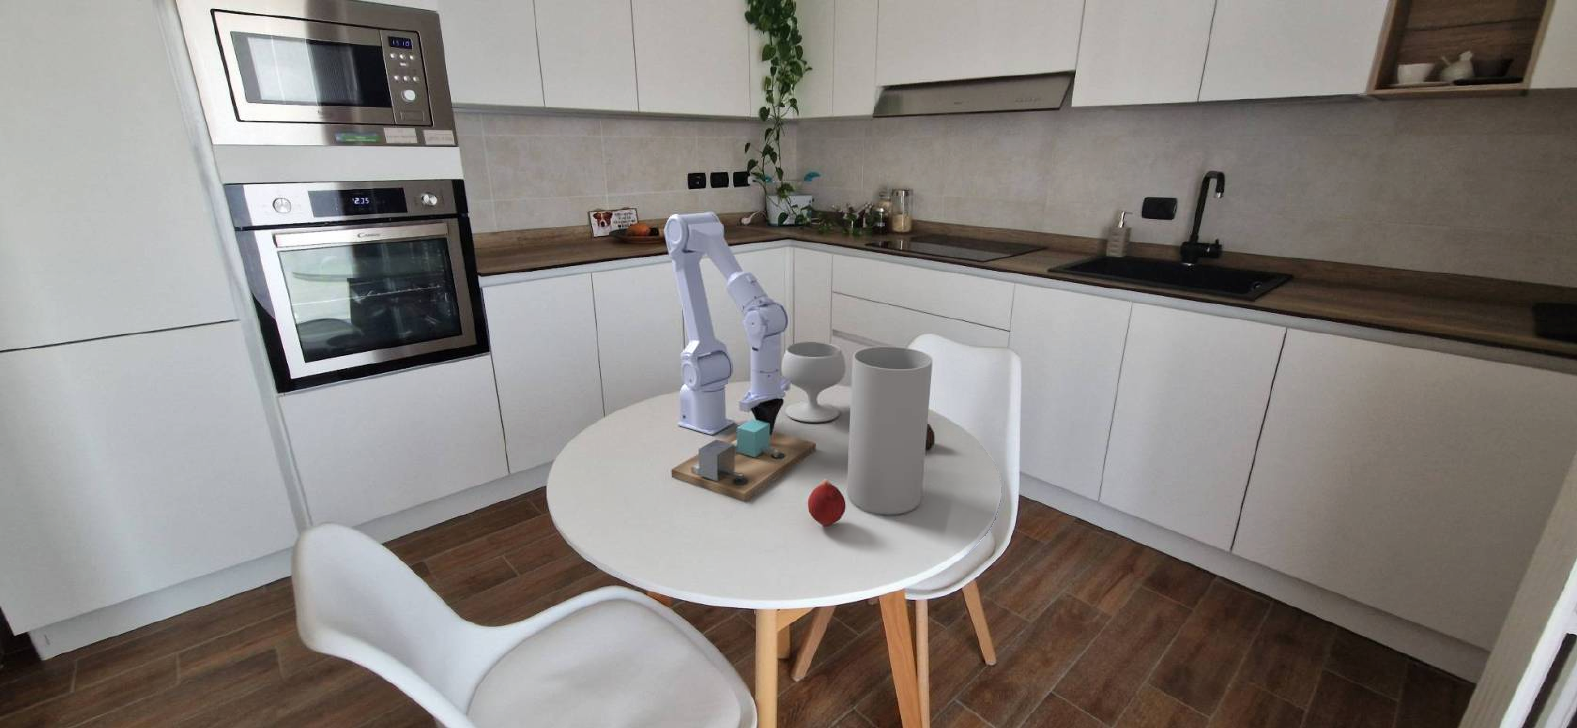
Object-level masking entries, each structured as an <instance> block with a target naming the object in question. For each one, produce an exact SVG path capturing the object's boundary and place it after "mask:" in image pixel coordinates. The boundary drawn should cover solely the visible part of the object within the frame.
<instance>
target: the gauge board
mask: <svg viewBox="0 0 1577 728" xmlns="http://www.w3.org/2000/svg"><path fill="white" fill-rule="evenodd" d="M721 441H724V442H728V443H731V444H734V445H735V470H734V471H733V472H737V473H742V474H743V475H744V478H743V479H742V481H738V479H737V478H734V477H731V476H728V475H727V476H725V477H724V478H722V479H721V480H719V481H715V480H712V479H709V478H706V477H703V476H700V475H699V453H698V454H695V455H694V456H692V457H690V458H688V459H686V460H685V461H683V462H682V463H680V464H678V465H677V466H675V467H672V468H671V471H670V472H671V477H672V478H674V479H676V478H677V479H676V480H680V481H682V482H685V483H688V484H692V485H695V486H697V487H700V488H703V489H706V490H709V491H712V492H715V493H718V494H721V495H723V496H727V497H730V498H733V499H735V500H739V501H742V502H746V501H748V500H749V499H750V498H751V496H752V495H753V496H755V495H756V494H757V493H758V492H760V491H761V490H763V489H764V488H766V487H767V486H769V484H771V483H772V482H774V481H775V480H776V479H778V478H779V477H780V476H782V475H783V474H785V473H786V472H787V471H789V470H790V469H792V468H793V467H794V466H795V464H796V463H797V464H798V463H800V462H801V461H802V460H804V459H805V458H807V457H808V456H810V455H811V454H812V453H814V452H815V451H816V449H817V445H816V444H817V443H816V442H814V441H810V440H807V439H803V438H799V437H795V436H791V435H789V434H784V433H780V432H777V431H773V432H772V435H770V449H773V450H778V451H779V455H778V456H777V457H774V455H772V454H769V453H766V452H762V453H761V454H759V455H758V456H756V457H752V456H749V455H745V454H742V453H738V452H737V431H736V432H734V433H732V434H730V435H729V436H726V437H725V438H724V439H722V440H721ZM800 460H801V461H800ZM799 461H800V462H799ZM797 464H796V465H797ZM792 466H793V467H792ZM778 476H779V477H778ZM777 477H778V478H777ZM774 479H775V480H774ZM773 480H774V481H773ZM759 490H760V491H759ZM755 493H756V494H755ZM753 496H752V497H753Z"/></svg>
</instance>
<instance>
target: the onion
mask: <svg viewBox="0 0 1577 728" xmlns="http://www.w3.org/2000/svg"><path fill="white" fill-rule="evenodd" d="M846 504H847V503H846V499H845V497H844V495H843V493H842V492H841V491H840V490H839V488H838V487H837V486H835V485H834V484H832V483H831V482H830V480H829V479H827V478H824V479H823V481H822V484H819V485H818V486H816V487H815V488H814V489H813V490H812V491H811V493H810V495H809V497H808V500H807V508H808V513H809V514H810V516H811V517H812V519H813V520H815V522H817V523H818V524H819V525H821V526H823V527H828V526H832V525H833V524H836V523H837V522H839V521H840V520H841V519H842V518H843V516H844V513H845V511H846Z"/></svg>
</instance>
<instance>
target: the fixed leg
mask: <svg viewBox="0 0 1577 728" xmlns="http://www.w3.org/2000/svg"><path fill="white" fill-rule="evenodd" d="M698 454H699V475H700V476H703V477H706V478H709V479H712V480H715V481H719V480H721V479H722V478H724V477H725V476H727V475H728V476H731V477H734V478H737V479H738V481H742V479H743V478H744V475H743V474H742V473H737V472H733V471H734V470H735V445H734V444H731V443H728V442H724V441H722V440H720V439H717V438H716V439H714V440H712V441H711V442H709V443H707V444H706V445H703V446H702V447H700V448H699V449H698Z"/></svg>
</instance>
